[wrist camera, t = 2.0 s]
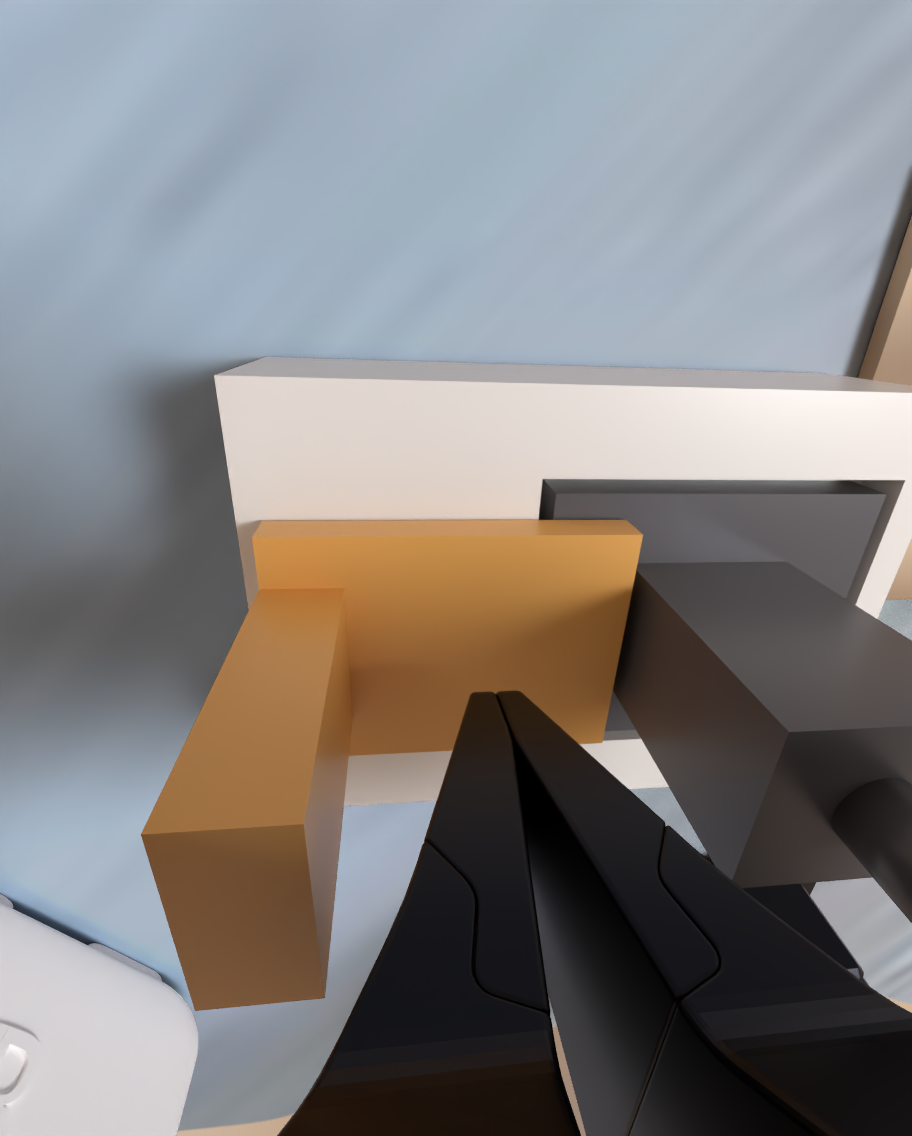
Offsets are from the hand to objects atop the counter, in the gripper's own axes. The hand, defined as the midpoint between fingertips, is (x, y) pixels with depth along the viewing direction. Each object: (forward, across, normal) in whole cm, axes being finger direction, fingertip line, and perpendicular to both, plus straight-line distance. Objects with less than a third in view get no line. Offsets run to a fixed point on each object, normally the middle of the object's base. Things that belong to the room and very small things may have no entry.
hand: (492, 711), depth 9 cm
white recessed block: (+7, -2, 0) cm, 7 cm away
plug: (+4, -5, 0) cm, 6 cm away
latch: (+3, +1, 0) cm, 3 cm away
